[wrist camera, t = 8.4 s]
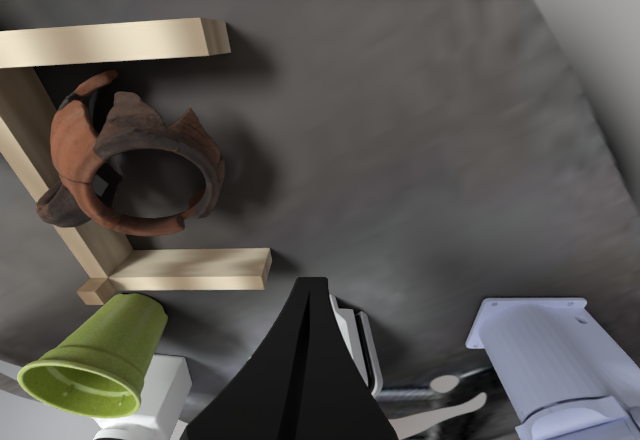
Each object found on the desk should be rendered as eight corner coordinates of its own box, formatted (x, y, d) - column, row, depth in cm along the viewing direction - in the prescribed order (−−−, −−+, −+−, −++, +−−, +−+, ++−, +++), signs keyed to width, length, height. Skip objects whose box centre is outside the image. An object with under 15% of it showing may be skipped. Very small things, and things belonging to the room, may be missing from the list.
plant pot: (108, 265, 27) (25, 349, 19) (198, 307, 30) (154, 394, 22) (85, 312, 31) (10, 395, 24) (166, 344, 34) (120, 427, 27)
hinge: (333, 292, 28) (367, 408, 21) (363, 299, 30) (402, 404, 24) (246, 359, 35) (251, 460, 28) (277, 360, 38) (288, 452, 31)
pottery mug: (132, 20, 16) (133, 74, 11) (237, 132, 24) (265, 192, 19) (-7, 143, 17) (-60, 239, 13) (134, 211, 25) (135, 287, 20)
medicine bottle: (129, 350, 35) (47, 475, 25) (185, 356, 35) (127, 482, 25) (142, 378, 39) (76, 496, 29) (193, 383, 39) (145, 501, 29)
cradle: (225, 21, 15) (185, 15, 11) (272, 260, 25) (260, 304, 21) (-8, 37, 16) (-125, 36, 12) (125, 262, 26) (86, 304, 22)
